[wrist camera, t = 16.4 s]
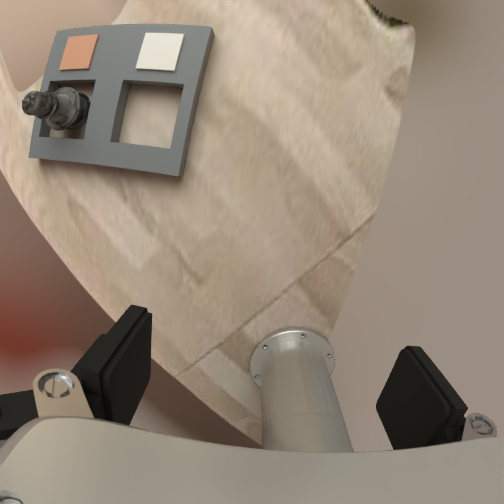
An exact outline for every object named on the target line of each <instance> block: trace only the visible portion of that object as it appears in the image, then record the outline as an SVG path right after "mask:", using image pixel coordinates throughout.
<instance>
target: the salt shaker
mask: <svg viewBox="0 0 504 504" xmlns="http://www.w3.org/2000/svg"><path fill="white" fill-rule="evenodd" d="M22 109H23V111H24V113H26V114H28V115H34V116H37V118H39V119H41V120H44V119H46V122H47V124H48V125H49V127H50V128H52V129H54V130H64V129H66V128H67V129H71V130H73V129H77V128H80V127H81V126H82V125H83V124H84V123H85V122H86V121H87V119H88V113H89V109H90V101H89V98H88V97H87V96H86V95H84V94H82V93H77V91H76V90H75V89H73V88H71V87H62V88H60V89H58V90H57V91H56V92H52V91H46V92H44V93H43V92H39V91H31V92H29V93H28V94H27V95H26V96H25V98H24V99H23V100H22Z"/></svg>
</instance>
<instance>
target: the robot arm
mask: <svg viewBox="0 0 504 504" xmlns="http://www.w3.org/2000/svg"><path fill="white" fill-rule="evenodd" d="M151 333H152V313H148V310H147V308H144V307H140V306H136V305H131V306H130V307H129V308H128V309H127V310H126V311H125V313H124V314H123V315H122V316H121V317H120V319H119V320H118V321H117V322H116V323H115V325H114V326H113V327H112V328H111V329H110V331H109V332H108V333H107V334H101V335H100V336H99V337H98V339H97V340H96V341H95V342H94V343H93V345H92V346H91V347H90V348H89V349H88V351H87V352H86V353H85V354H84V355H83V357H82V358H81V359H80V360H79V362H78V363H77V364H76V365H75V366H74V368H73V369H72V370H71V371H70V372H69V371H67V370H63V369H50V370H45V371H43V372H41V373H40V374H38V375H37V376H36V377H35V379H34V381H33V390H28V391H22V392H16V393H9V394H2V395H0V504H504V438H499V437H496V434H497V430H496V426H495V424H494V423H493V421H492V420H491V419H489V418H488V417H487V416H484V415H482V414H479V413H473V414H469V415H468V416H467V417H466V418H465V417H464V414H465V412H466V411H467V409H468V407H467V406H466V404H465V403H464V402H463V400H462V399H461V398H460V397H459V395H458V394H457V392H456V391H455V390H454V388H453V387H452V386H451V385H450V383H449V382H448V381H447V379H446V378H445V377H444V376H443V374H442V373H441V372H440V370H439V369H438V368H437V367H436V366H435V364H434V363H433V362H432V360H431V359H430V358H429V357H428V355H427V354H426V353H425V352H424V351H423V349H422V348H421V347H418V346H406V347H405V348H404V349H402V350H401V351H400V353H399V355H398V358H397V360H396V362H395V365H394V367H393V369H392V371H391V373H390V376H389V378H388V380H387V382H386V384H385V386H384V388H383V390H382V393H381V394H380V396H379V398H378V400H377V404H376V409H377V412H378V414H379V417H380V419H381V421H382V424H383V426H384V428H385V431H386V433H387V435H388V438H389V440H390V442H391V445H392V447H393V449H394V450H387V451H371V452H354V450H353V448H352V444H351V441H350V438H349V435H348V432H347V428H346V425H345V421H344V418H343V415H342V412H341V409H340V406H339V402H338V399H337V396H336V393H335V390H334V387H333V384H332V380H331V377H330V375H331V374H332V372H333V369H334V365H335V357H334V352H333V349H332V347H331V345H330V343H329V342H328V340H327V339H326V338H325V337H324V336H322V335H321V334H319V333H317V332H315V331H313V330H310V329H305V328H287V329H283V330H279V331H276V332H274V333H272V334H270V335H268V336H267V337H265V338H264V339H263V340H262V341H261V342H260V343H259V344H258V345H257V346H256V347H255V349H254V351H253V353H252V355H251V359H250V372H251V376H252V378H253V380H254V382H255V383H256V384H257V385H258V387H260V388H261V409H262V449H255V448H245V447H237V446H230V445H222V444H216V443H210V442H203V441H198V440H193V439H187V438H182V437H178V436H173V435H168V434H164V433H159V432H154V431H150V430H146V429H141V428H137V427H133V426H129V424H130V422H131V420H132V418H133V416H134V414H135V411H136V409H137V407H138V405H139V402H140V400H141V398H142V396H143V394H144V391H145V389H146V387H147V385H148V382H149V380H150V374H151Z"/></svg>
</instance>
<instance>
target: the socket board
mask: <svg viewBox="0 0 504 504" xmlns="http://www.w3.org/2000/svg"><path fill="white" fill-rule="evenodd" d="M213 37H214V32H213V29H212V27H207V26H194V25H177V24H122V25H104V26H92V27H83V28H75V29H67V30H60V31H57V33H56V36H55V39H54V42H53V45H52V49H51V52H50V56H49V59H48V63H47V66H46V69H45V73H44V77H43V81H42V85H41V90H40V92H43V93H44V92H46V91H52V92H56V91H57V90H58V87H59V84H71V83H95V86H94V90H93V95H92V99H91V104H90V109H89V113H88V119H87V124H86V129H85V135H84V140H83V139H70V138H53V137H49V133H50V127H49V125H48V124H47V122H46V119H44V120H41V119H39V118H37V116H35V119H34V125H33V131H32V137H31V144H30V152H29V158H38V159H49V160H59V161H69V162H78V163H87V164H95V165H103V166H111V167H119V168H126V169H133V170H140V171H147V172H154V173H160V174H166V175H173V176H183V172H184V167H185V161H186V156H187V151H188V145H189V140H190V135H191V130H192V125H193V121H194V116H195V111H196V107H197V102H198V98H199V93H200V89H201V85H202V80H203V76H204V72H205V68H206V64H207V60H208V56H209V52H210V49H211V45H212V41H213ZM130 84H141V85H156V86H169V87H179V88H183V92H182V96H181V100H180V105H179V110H178V114H177V119H176V124H175V129H174V134H173V139H172V144H171V149H166V148H158V147H151V146H143V145H135V144H126V143H118V141H119V135H120V130H121V125H122V120H123V115H124V110H125V105H126V101H127V96H128V92H129V88H130Z"/></svg>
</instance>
